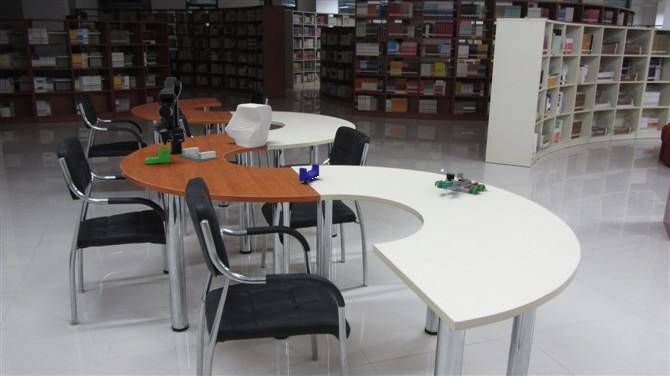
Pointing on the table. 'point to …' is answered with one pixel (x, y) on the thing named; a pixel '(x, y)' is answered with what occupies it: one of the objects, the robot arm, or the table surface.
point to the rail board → (198, 154)
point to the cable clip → (308, 173)
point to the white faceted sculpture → (250, 125)
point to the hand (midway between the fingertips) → (169, 146)
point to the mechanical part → (161, 157)
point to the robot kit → (460, 184)
